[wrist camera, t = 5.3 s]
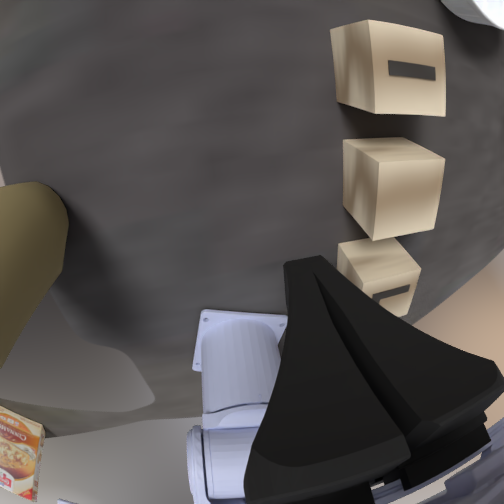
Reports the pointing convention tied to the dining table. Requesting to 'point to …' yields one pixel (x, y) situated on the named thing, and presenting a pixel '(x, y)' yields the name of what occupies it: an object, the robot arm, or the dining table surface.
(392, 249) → the numbered block seven
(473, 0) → the ramekin
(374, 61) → the numbered block one
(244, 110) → the dining table surface
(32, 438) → the coffeecake box
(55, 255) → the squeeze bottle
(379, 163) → the plain block
